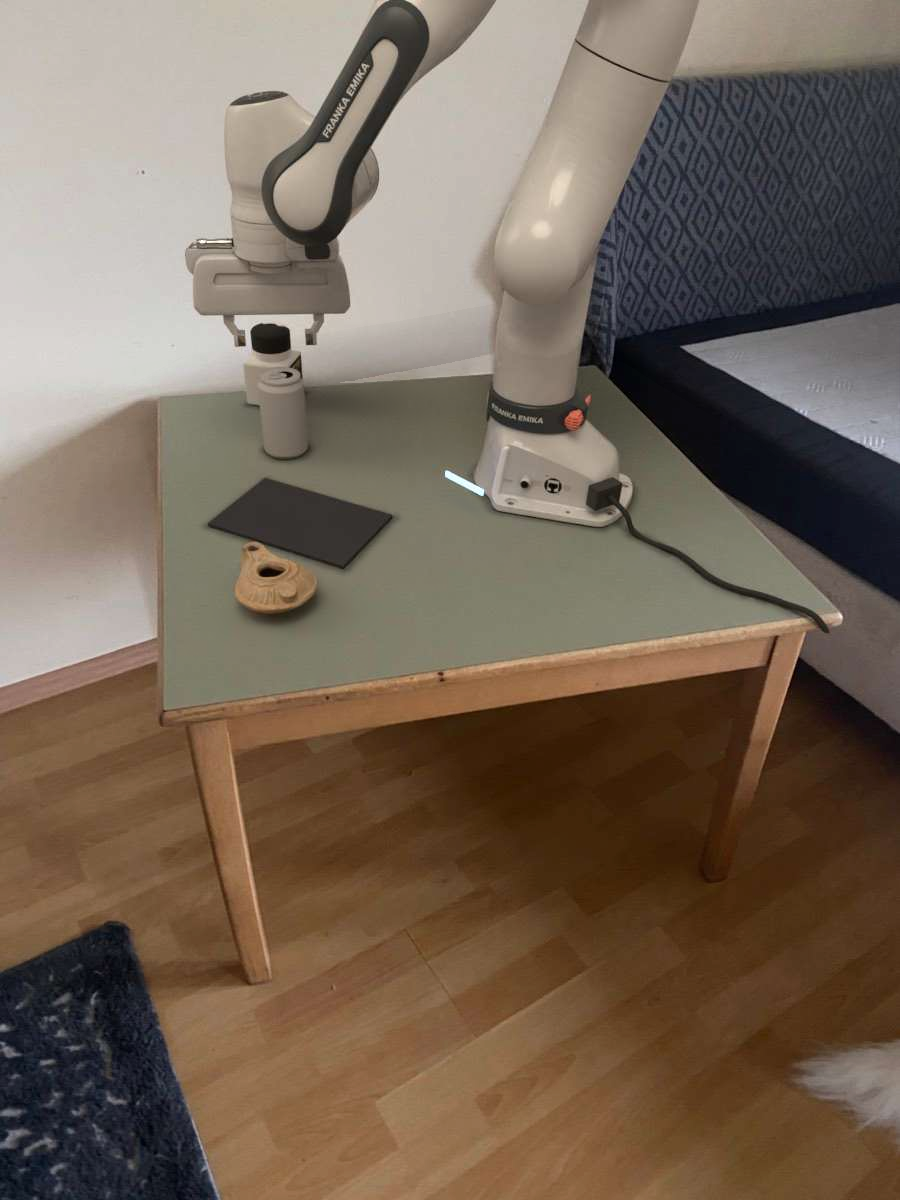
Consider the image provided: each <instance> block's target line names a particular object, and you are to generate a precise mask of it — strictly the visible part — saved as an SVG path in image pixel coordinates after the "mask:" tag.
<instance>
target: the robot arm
mask: <svg viewBox="0 0 900 1200" xmlns="http://www.w3.org/2000/svg"><path fill="white" fill-rule="evenodd" d="M496 1H497V0H374V2H373V3H372V6H371V8H370V11H369V13H368V16H367V18H366V20H365V23H364V25H363V28H362V30H361V33H360V34H359V37H358V39H357V42H356V43H355V46H354V47H353V49H352V50H351V53H350V55H349V56H348V58H347V60H346V61H345V64H344V65H343V67H342V69H341V71H340V72H339V74H338V76H337V77H336V80H335V82H334V83H333V85H332V87H331V89H330V90H329V92H328V94H327V96H326V97H325V99H324V101H323V102H322V105H321V106H320V108H319V110H318V112H317V113H316V115H314V114H312V113H310V112H309V111H308V110H307V109H305V108H304V107H303V106H301V105H300V104H299V103H298V102H297V101H296V100H295V98H294V97H293V96H292V95H291V94H289V93H288V92H284V91H280V90H268V91H259V92H253V93H251V94H246V95H243V96H240V97H238V98H236V99H235V100H233V101H232V102H230V104H229V106H228V107H227V108H226V111H225V116H224V129H223V130H224V134H223V137H224V139H223V140H224V142H223V143H224V160H225V161H224V162H225V173H226V178H227V181H228V185H229V186H230V187H229V188H230V191H231V202H230V208H229V214H230V224H231V237H230V238H227V237H226V238H215V239H214V238H210V239H209V238H202V237H201V238H196V239H195V241H194V242H191V243H189V244H188V245H187V247H186V248H185V251H184V258H185V265H186V267H187V270H188V272H189V273H190V274H191V275H193V276H192V301H193V302H192V303H193V308H194V310H195V311H196V312H197V313H198V314H199V315H200V316H222V318H223V325H225V327H226V328H227V329H228V331H229V332H230V333H231V335H232V336H233V342H234V347H235V348H238V347H247V339H246V330H245V329H239V328H238V327H237V325H236V323H235V316H273V315H274V316H275V315H277V316H278V315H282V316H283V315H312V319H313V323H312V325H311V327H310V328H304V340H305V341H304V342H305V346H317V344H318V342H317V341H318V340H317V339H318V338H317V334H318V333H319V332H320V329H321V328H322V326H323V324H324V322H325V315H343V314H346V313H347V312H348V310H349V309H350V308H351V293H350V286H349V285H350V284H349V280H348V274H347V271H346V267H345V264H344V261H343V258H342V257H341V255H340V241H339V238H338V237H339V236H340V234H341V233H342V232H343V230H344V229H345V227H346V226H347V225H348V223H350V222H351V221H352V220H353V219H354V218H355V217H356V216H357V215H358V214H359V213H360V212H361V211H362V210H363V209H364V208H365V207H366V206H367V205H368V204H369V203H370V202H371V200H372V199H373V198H374V196H375V194H376V192H377V190H378V187H379V182H380V168H379V163H378V159H377V157H376V154H375V152H374V149H372V147H373V145H374V143H375V142H376V140H377V139H378V137H379V135H380V133H381V131H382V130H383V128H384V127H385V125H386V123H387V122H388V120H389V119H390V117H391V115H392V114H393V112H394V111H395V108H396V107H397V106H398V104H399V103H400V101H401V100H402V99H403V98H404V97H405V96H406V94H407V93H408V92H409V91H410V90H411V89H412V88H413V86H415V85H417V83H418V82H419V81H420V80H421V79H422V78H424V77H425V76H426V75H427V74H428V73H429V72H431V71H432V70H433V69H435V68H436V67H437V66H439V65H440V64H441V63H443V62H444V61H445V60H447V59H448V58H449V57H451V56H452V55H453V54H455V52H457V51H458V50H459V49H460V48H461V47H462V46H463V45H464V43H466V41H468V39H469V38H470V37H471V36H472V34H473V33H474V32H475V31H476V29H477V28H478V27H479V26H480V25H481V24H482V22H483V21H484V20H485V18H486V17H487V15H488V14H489V12H491V10H492V8H493V6H494V5H495V3H496ZM699 3H700V0H588V2H587V5H586V8H585V11H584V14H583V16H582V19H581V21H580V24H579V26H578V29H577V31H576V34H575V37H574V38H573V39H574V40H573V43H572V45H571V48H570V50H569V53H568V56H567V58H566V61H565V64H564V65H563V69H562V71H561V75H560V77H559V80H558V82H557V85H556V87H555V91H554V93H553V96H552V99H551V101H550V104H549V107H548V110H547V112H546V114H545V117H544V120H543V121H542V125H541V127H540V129H539V131H538V133H537V136H536V138H535V140H534V143H533V145H532V147H531V150H530V152H529V154H528V157H527V160H526V162H525V165H524V167H523V169H522V172H521V174H520V176H519V179H518V181H517V183H516V186H515V189H514V191H513V193H512V196H511V198H510V201H509V203H508V206H507V208H506V210H505V213H504V215H503V218H502V221H501V223H500V225H499V229H498V231H497V234H496V238H495V242H494V243H495V244H494V249H493V264H494V271H495V275H496V278H497V280H498V282H499V284H500V285H501V287H502V289H503V294H502V301H501V306H500V310H499V311H500V312H499V317H498V321H497V324H496V325H497V326H496V336H495V349H494V361H493V374H492V381H490V383H489V386H488V392H487V398H486V422H487V427H486V428H487V429H486V432H485V438H484V443H483V445H482V450H481V454H480V457H479V460H478V463H477V464H476V468H475V469H474V472H473V481H474V483H472V482H470V481H468V480H466V479H464V478H462V477H460V476H458V475H456V474H454V473H452V472H451V471H449V470H445V473H444V474H445V475H444V476H445V478H447V479H449V480H451V481H453V482H455V483H456V484H458V485H461V486H462V487H464V488H466V489H467V490H470V491H472V492H474V493H475V494H478V495H479V496H481V497H482V496H484V495H486V496H487V497H488V498H489V502H490V504H491V506H492V508H493V509H494V510H496V511H498V512H502V513H508V514H515V515H522V516H527V517H532V518H540V519H546V520H551V521H558V522H564V523H569V524H576V525H582V526H590V527H594V528H603V527H607V526H609V525H611V524H613V523H615V522H616V521H617V520H619V519H621V517H622V516H623V518H624V519H625V522H626V525H627V530H628V531H629V532H630V534H631V535H633V537H635V538H636V539H637V540H639V541H642V542H644V543H646V544H648V545H650V546H652V547H654V548H657V549H659V550H662V551H665V552H668V553H671V554H672V555H675V556H676V557H678V558H679V559H681V560H682V561H684V562H685V563H687V564H688V565H689V566H690V567H692V569H694V570H695V571H696V572H697V573H699V574H700V575H701V576H703V577H704V578H705V579H707V580H709V581H710V582H712V583H714V584H715V585H718V586H719V587H721V588H724V589H726V590H730V591H733V592H735V593H738V594H742V595H747V596H751V597H755V598H759V599H762V600H765V601H768V602H771V603H774V604H777V605H779V606H781V607H784V608H787V609H790V610H793V611H797V612H799V613H801V614H804V615H806V616H808V617H809V618H810V619H812V620H813V621H814V622H815V623H816V624H817V625H818V627H819V629H820V630H821V632H823V633H824V634H830V633H831V632H830V629H829V627H828V625H827V624H826V622H825V620H823V619H822V617H821V616H820V615H819V614H817V612H815V611H814V610H811V609H810V608H807V607H805V606H803V605H800V604H798V603H794V602H791V601H788V600H785V599H783V598H780V597H778V596H775V595H772V594H770V593H769V594H768V593H765V592H761V591H758V590H755V589H750V588H746V587H743V586H739V585H736V584H732V583H730V582H727V581H724V580H723V579H720V578H719V577H717V576H716V575H713V574H712V573H711V572H709V571H707V570H706V569H705V568H704V567H702V566H701V565H700V564H699V563H698V562H696V561H695V560H694V559H692V558H691V557H690V556H688V554H686V553H684V552H682V551H681V550H679V549H677V548H676V547H673V546H670V545H667V544H665V543H662V542H659V541H655V540H652V539H650V538H648V537H647V536H645V535H643V534H642V533H640V532H639V531H638V530H637V529H636V528H635V526H634V524H633V520H632V517H631V515H630V513H629V512H628V508H629V506H630V504H631V503H632V499H633V491H634V486H633V483H632V480H631V478H630V477H629V476H627V475H626V474H623V473H621V472H620V466H621V465H620V455H619V451H618V450H617V448H616V445H614V444H613V443H612V442H611V441H610V440H608V439H607V438H606V437H605V435H603V434H602V433H601V432H600V431H599V430H598V429H597V428H596V427H595V426H594V425H593V424H592V423H591V422H590V421H589V420H588V419H587V416H588V410H589V406H590V403H591V396H592V395H591V394H588V395H587V397H586V398H585V399H584V397H583V396H582V395H581V394H580V392H579V391H578V388H577V381H578V374H579V369H580V360H581V353H582V346H583V338H584V333H585V327H586V323H587V318H588V317H587V316H588V311H589V306H590V305H589V304H590V299H591V294H592V289H593V283H594V277H595V272H596V265H597V260H598V254H599V249H600V248H599V247H600V241H601V238H602V237H603V234H604V232H605V230H606V227H607V225H608V223H609V221H610V218H611V216H612V214H613V211H614V209H615V207H616V205H617V203H618V200H619V198H620V195H621V194H622V191H623V189H624V187H625V184H626V182H627V180H628V178H629V175H630V173H631V171H632V169H633V167H634V164H635V162H636V160H637V157H638V155H639V153H640V150H641V148H642V147H643V143H644V141H645V140H646V137H647V135H648V133H649V130H650V128H651V126H652V124H653V122H654V119H655V117H656V115H657V112H658V110H659V108H660V106H661V104H662V101H663V99H664V97H665V95H666V92H667V90H668V88H669V86H670V84H671V81H672V79H673V78H674V77H673V76H674V74H675V72H676V70H677V68H678V65H679V63H680V60H681V57H682V56H683V55H682V54H683V52H684V51H685V50H684V49H685V47H686V44H687V41H688V37H689V35H690V33H691V29H692V26H693V23H694V20H695V17H696V13H697V10H698V6H699ZM195 246H196V247H195Z"/></svg>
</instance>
